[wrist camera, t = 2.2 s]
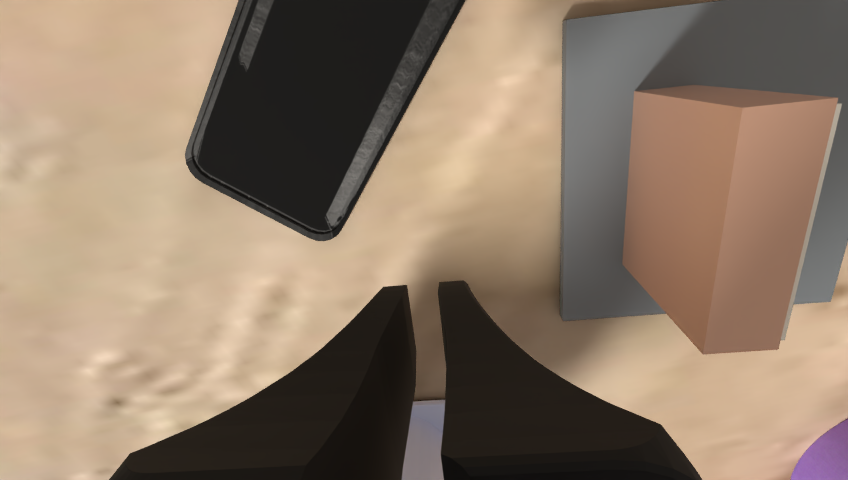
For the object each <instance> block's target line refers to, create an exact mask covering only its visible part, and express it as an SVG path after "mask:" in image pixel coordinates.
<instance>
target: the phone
mask: <svg viewBox="0 0 848 480" xmlns="http://www.w3.org/2000/svg"><path fill="white" fill-rule="evenodd" d="M464 2H465V0H239V1H238V4H237V7H236V10H235V13H234V15H233V18H232V21H231V24H230V27H229V29H228V32H227V35H226V38H225V41H224V44H223V46H222V49H221V52H220V55H219V58H218V60H217V63H216V66H215V69H214V72H213V75H212V77H211V80H210V83H209V86H208V89H207V92H206V94H205V97H204V100H203V103H202V106H201V108H200V111H199V114H198V117H197V120H196V123H195V125H194V128H193V131H192V134H191V137H190V139H189V142H188V145H187V148H186V153H185V158H186V164H187V166H188V168H189V170H190V172H191V173H192V174H193V175H194V177H195V178H197V179H198V180H199V181H201V182H202V183H204V184H206V185H208V186H210V187H212V188H214V189H216V190H218V191H220V192H221V193H223V194H225V195H227V196H229V197H231V198H233V199H235V200H237V201H239V202H241V203H243V204H245V205H247V206H248V207H250V208H252V209H254V210H256V211H258V212H260V213H262V214H264V215H266V216H268V217H270V218H272V219H274V220H275V221H277V222H279V223H281V224H283V225H285V226H287V227H289V228H291V229H293V230H295V231H297V232H299V233H300V234H302V235H304V236H306V237H308V238H311V239H313V240H316V241H326V240H330V239H332V238H334V237H336V236H337V235H338V234H339V232H340V231H341V230H342V228H343V226H344V225H345V223H346V221H347V219H348V217H349V215H350V213H351V212H352V210H353V208H354V206H355V204H356V202H357V200H358V199H359V197H360V195H361V193H362V191H363V189H364V187H365V186H366V184H367V182H368V180H369V178H370V176H371V174H372V173H373V171H374V169H375V167H376V165H377V163H378V161H379V160H380V158H381V156H382V154H383V152H384V150H385V148H386V147H387V145H388V143H389V141H390V139H391V137H392V136H393V134H394V132H395V130H396V128H397V126H398V124H399V123H400V121H401V119H402V117H403V115H404V113H405V111H406V110H407V108H408V106H409V104H410V102H411V100H412V98H413V97H414V95H415V93H416V91H417V89H418V87H419V85H420V84H421V82H422V80H423V78H424V76H425V74H426V72H427V71H428V69H429V67H430V65H431V63H432V61H433V59H434V58H435V56H436V54H437V52H438V50H439V48H440V46H441V45H442V43H443V41H444V39H445V37H446V35H447V33H448V32H449V30H450V28H451V26H452V24H453V22H454V20H455V19H456V17H457V15H458V13H459V11H460V9H461V7H462V6H463V4H464Z"/></svg>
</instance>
